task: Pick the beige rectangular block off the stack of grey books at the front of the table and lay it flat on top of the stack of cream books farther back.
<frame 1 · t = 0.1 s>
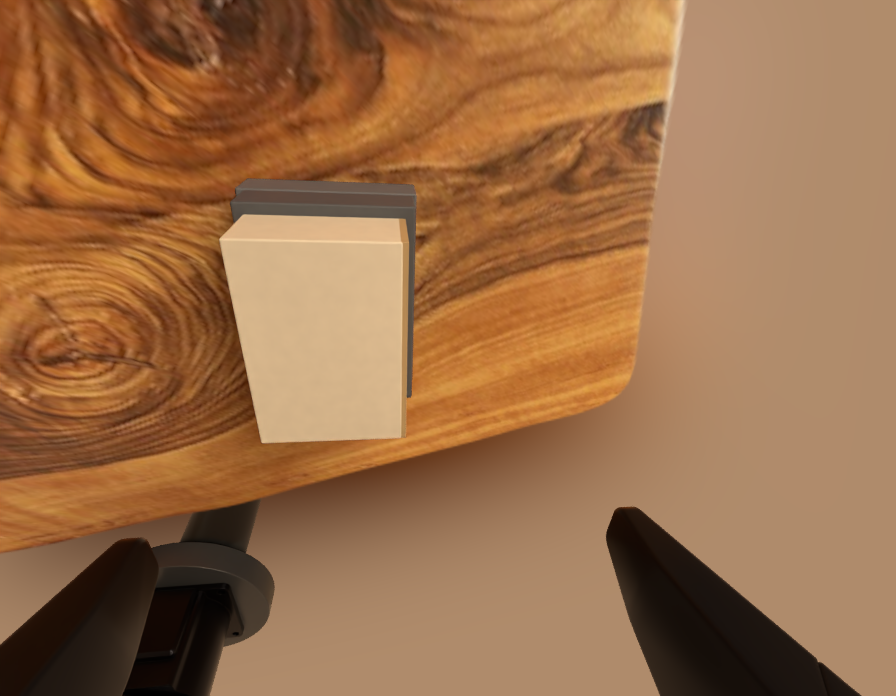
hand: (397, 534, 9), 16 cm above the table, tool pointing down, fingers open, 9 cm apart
beige rectangular block: (331, 318, 20), point 4 cm above the table, touching grey book stack
grey book stack: (339, 282, 23), on the table
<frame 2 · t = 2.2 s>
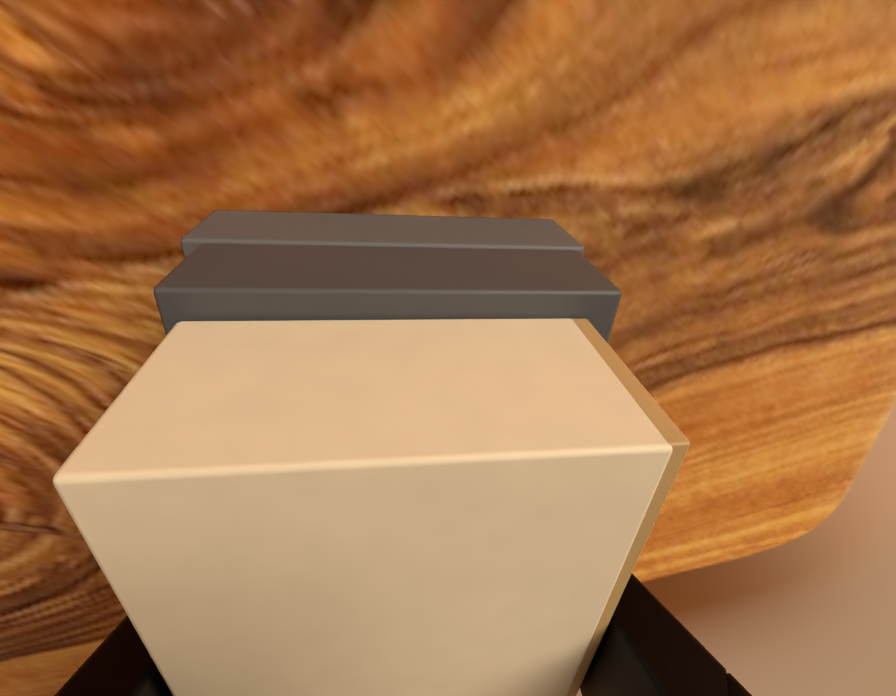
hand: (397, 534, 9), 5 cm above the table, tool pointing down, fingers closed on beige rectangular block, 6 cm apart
beige rectangular block: (389, 513, 9), point 4 cm above the table, touching grey book stack, gripper
grey book stack: (393, 393, 13), on the table
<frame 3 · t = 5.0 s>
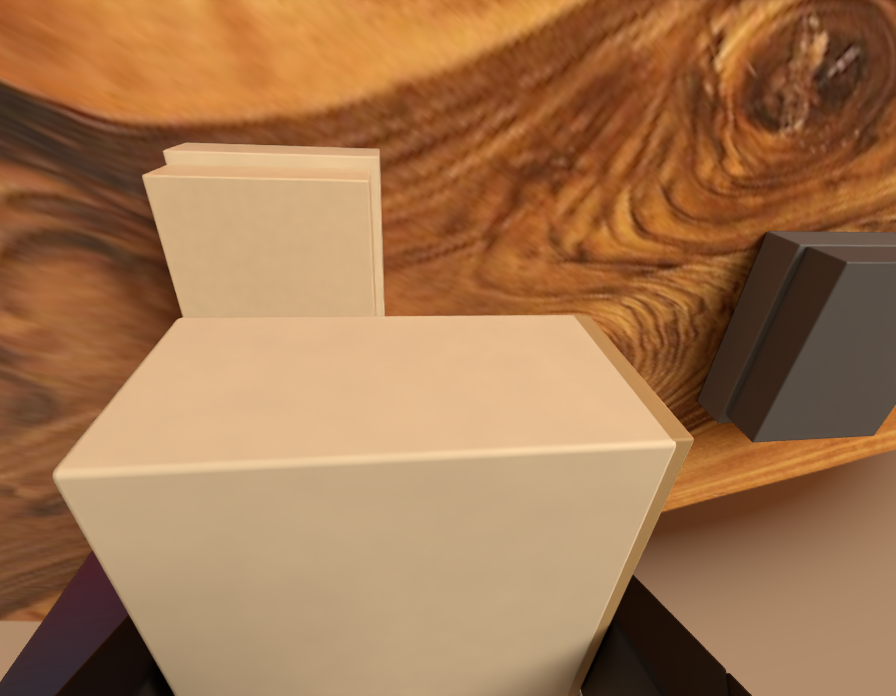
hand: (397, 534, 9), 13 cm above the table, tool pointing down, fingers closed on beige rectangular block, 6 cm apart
beige rectangular block: (390, 511, 9), point 13 cm above the table, touching gripper
grey book stack: (791, 324, 24), on the table
cup: (173, 515, 26), on the table
cream book stack: (301, 272, 19), on the table
when the fingers open (4 cm above the table, at t = 7.8 s): beige rectangular block stays where it is, resting on cream book stack.
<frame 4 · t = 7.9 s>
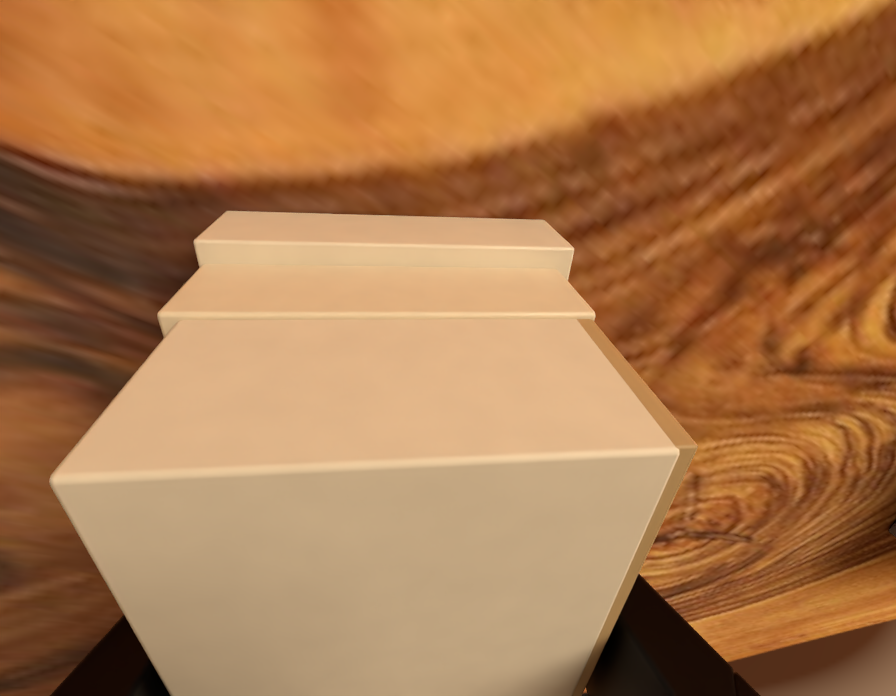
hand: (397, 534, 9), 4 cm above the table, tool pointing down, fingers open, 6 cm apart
beige rectangular block: (391, 514, 9), point 4 cm above the table, touching cream book stack
cream book stack: (393, 395, 13), on the table
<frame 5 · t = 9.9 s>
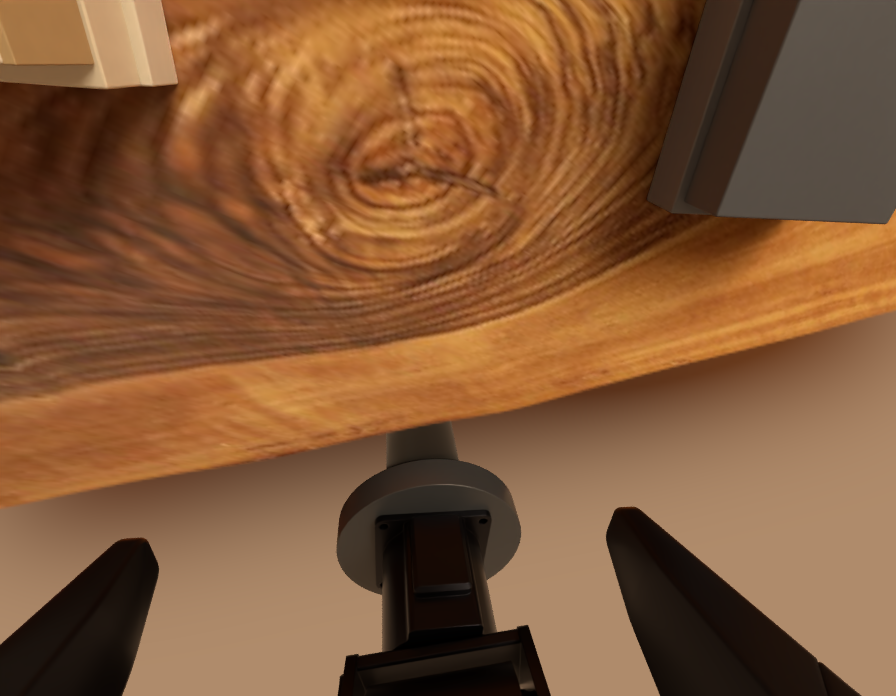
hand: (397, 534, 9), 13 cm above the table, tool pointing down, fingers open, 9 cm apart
grey book stack: (777, 70, 17), on the table
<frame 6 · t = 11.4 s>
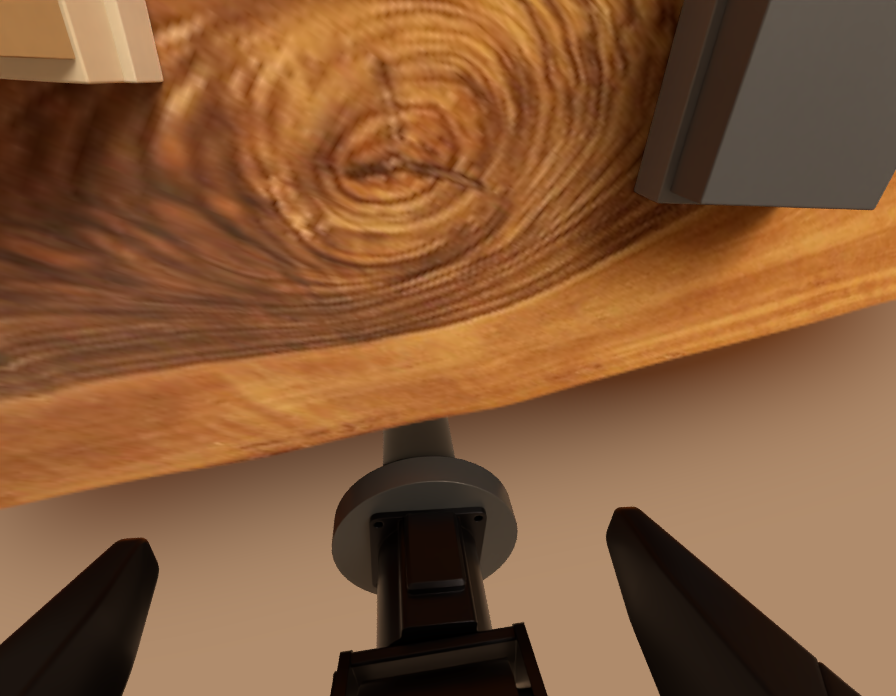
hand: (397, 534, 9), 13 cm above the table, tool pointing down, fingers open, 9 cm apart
grey book stack: (761, 58, 17), on the table
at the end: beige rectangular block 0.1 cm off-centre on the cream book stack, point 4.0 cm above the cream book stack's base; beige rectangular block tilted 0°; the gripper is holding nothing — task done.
